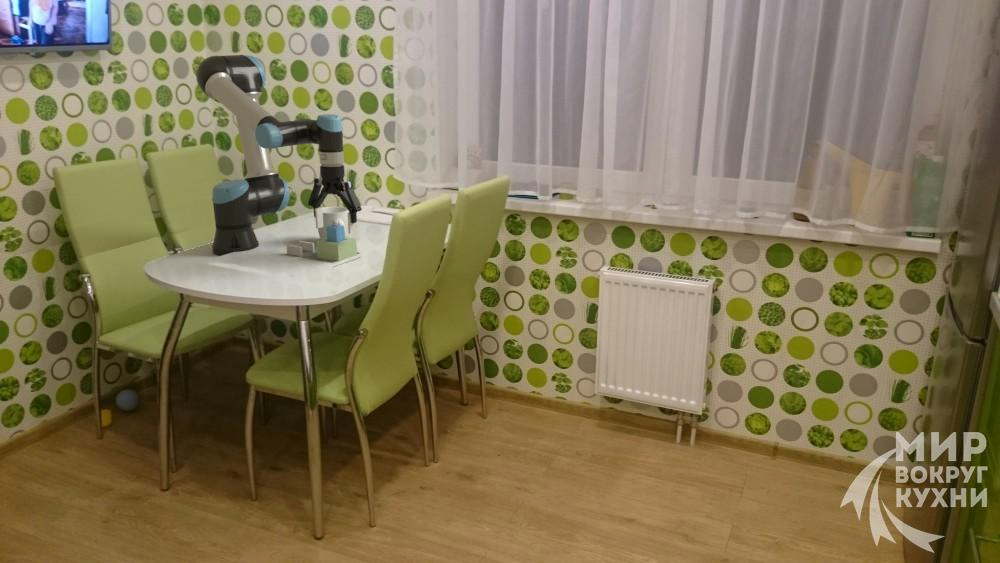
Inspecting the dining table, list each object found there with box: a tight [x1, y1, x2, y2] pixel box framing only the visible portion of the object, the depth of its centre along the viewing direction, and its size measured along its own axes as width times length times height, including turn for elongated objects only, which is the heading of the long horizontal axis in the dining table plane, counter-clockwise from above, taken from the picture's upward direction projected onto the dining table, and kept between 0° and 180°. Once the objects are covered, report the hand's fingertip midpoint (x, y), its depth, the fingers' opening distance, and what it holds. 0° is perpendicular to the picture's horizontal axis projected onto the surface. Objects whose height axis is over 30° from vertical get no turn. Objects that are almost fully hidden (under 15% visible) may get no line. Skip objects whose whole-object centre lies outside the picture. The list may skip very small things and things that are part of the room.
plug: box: [326, 220, 345, 243], centre depth 262 cm, size 4×4×12 cm
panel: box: [285, 240, 361, 268], centre depth 266 cm, size 20×14×4 cm
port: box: [316, 236, 358, 262], centre depth 263 cm, size 9×9×6 cm
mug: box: [317, 206, 350, 240], centre depth 278 cm, size 15×11×13 cm
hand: (335, 230), depth 261 cm, fingers open, 13 cm apart
